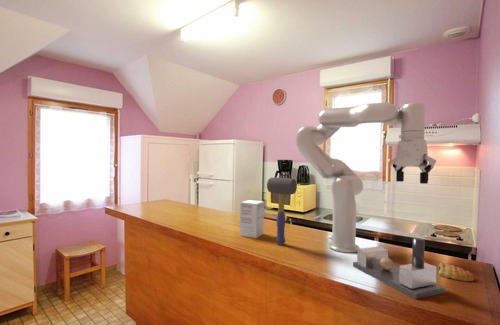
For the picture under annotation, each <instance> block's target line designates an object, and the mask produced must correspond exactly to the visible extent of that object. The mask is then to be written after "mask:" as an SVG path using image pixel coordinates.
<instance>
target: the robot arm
mask: <svg viewBox="0 0 500 325" xmlns="http://www.w3.org/2000/svg"><path fill="white" fill-rule="evenodd" d="M425 115H426V107H425V104H424V103H422V102H409V103H405V104H403V105H402V106H396V105H395V104H394V103H390V102H374V103H372V102H371V103H366V104H365V103H364V104H359V105H356V106H348V107H346V106H345V107H334V108H331V107H329V108H325V109H323V110H321V111H320V112H319V115H318V118H317V119H318V122H319V125H318V126H317V127H316V126H313V125H312V126H311V125H306V126H305V125H304V126H302V127H300V129H299V130H298V131H297V133H296V135H295V136H296V137H295V143H296V147H297V149H298V152H300V154H301V155H302V157H304V159H306V161H307V162H308V163H309V164H310V165H311V166H312V168H314V170H315V171H316V172H317V173H318V174H319V175H320V176H321V178H323V179H325V180H333V181H332V184H331V196H332V233H331V234H330V235H328V238H329V239H330V242H328V248H329V249H331V250H333V251H337V252H341V253H350V254H351V253H357V251H358V249H360V246H359V245H357V244H356V233H357V231H356V230H357V229H356V227H357V203H356V202H357V201H356V196H358V195H360V194H361V193H362V191H363V189H364V183H363V181H362V179H361V178H360V177H359V175H358V174H357V173H355V172H354V171H353V169H351V168H350V167H349V166H348V165H347V164H346V163H345V162H343V161H342V160H341V159H338V158H332V157H331V156H329V155H328V153H326V152H325V151H324V149H322V148H321V147H320V146H321V145H322V144H325V142H327V141H328V140H329V139H331V137H332V136H334V135H335V134H336V132H338V131H339V130H340V129H341V128H354V127H357V126H358V125H361V124H371V123H372V124H373V123H375V124H376V123H382V124H385V125H387V126H389V127H390V126H391V127H392V126H397V125H398V126H399V125H400V134H399V135H398V138H399V139H400V140H398V141H397V142H398V144H397V146H396V152H395V153H396V154H395V157H394V158H392V159H391V160H390V161H391V164H392V167H393V169H394V171H395V172H396V174H395V175H396V179H395V180H396V182H404V179H405V177H404V175H405V171H404V169H405V168H406V167H408V168H409V167H410V168H411V167H412V168H413V167H415V168H419V169H420V174H419V184H421V185H422V184H423V185H424V184H428V183H429V173H430V172H431V171H432V170H433V168H434V166H435V164H436V162H437V159H434V158H433V157H431V156H429V155H428V154H429V153H428V144H427V141H426V139H425V128H426V127H425V125H426V124H425V120H426V119H425V117H426V116H425ZM319 145H320V146H319Z"/></svg>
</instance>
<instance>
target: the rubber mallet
mask: <svg viewBox="0 0 500 325" xmlns="http://www.w3.org/2000/svg"><path fill="white" fill-rule="evenodd" d="M297 189H298V183H297V180H296V179H295V178H289V177H282V176H281V177H278V176H277V177H270V178H268V180H267V182H266V190H267V191H268V192H269V193H273V194H278V207H277V208H278V210H277V215H276V216H277V217H276V227H277V228H276V230H277V231H276V239H275V241H276V243H277V245H280V246H281V245H284V244H285V243H286V242H285V241H286V238H285V228H286V227H285V226H286V213H285V195H295V194H296V192H297V191H298V190H297Z"/></svg>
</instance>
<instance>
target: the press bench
mask: <svg viewBox="0 0 500 325" xmlns="http://www.w3.org/2000/svg"><path fill="white" fill-rule="evenodd" d="M356 253H357V258H356V261H352V267H353V268H355V269H357V270H359V271H361V272H362V273H365V274H366V275H369V276H371V278H374V279H375V280H378V281H380V282H382V283H384V284H386V285H388V286H389V287H392V288H394V289H395V290H397V291H399V292H401V293H402V294H405V295H407V296H409V297H410V298H412V299H414V300H418V299H423V298H427V297H431V296H435V295H436V296H437V295H441V294H446V292H447V291H446V287H445V286H444V285H441V284H439V283H436V284H433V285H428V286H423V287H418V288H413V289H411V288H409V287H407V286H405V285H403V284H401V283H399V269H400V266H396V265H394V266H393V268H392V269H391V270H384V269H383V268H382V267H381V265H380V261H381V259H383V258H389V249H387V248H384V247H383V246H382V247H381V246H371V247H362V248H359V249H358V251H357V252H356Z"/></svg>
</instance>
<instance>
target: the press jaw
mask: <svg viewBox="0 0 500 325" xmlns="http://www.w3.org/2000/svg"><path fill="white" fill-rule="evenodd" d="M425 244H426V242H425V239H424V238H421V237H412V247H411V248H412V249H411V250H412V253H411V255H412V256H411V257H412V258H411V263H408V264H402V265H399V268H400V269H399V283H401V284H403V285H405V286H407V287H409V288H411V289H413V288H418V287H423V286H428V285H433V284H437V266H436V265H433V264H430V263H427V262H425Z"/></svg>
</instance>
